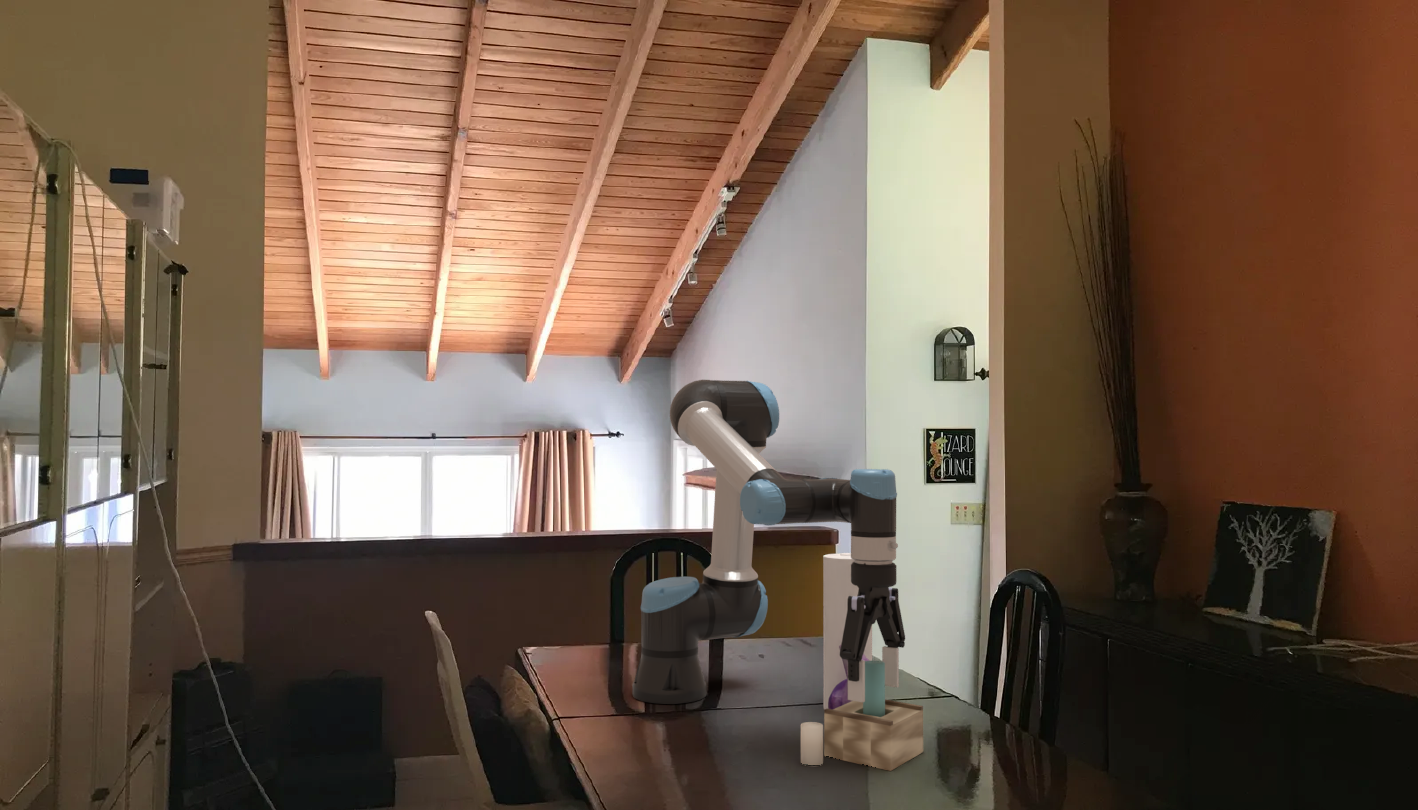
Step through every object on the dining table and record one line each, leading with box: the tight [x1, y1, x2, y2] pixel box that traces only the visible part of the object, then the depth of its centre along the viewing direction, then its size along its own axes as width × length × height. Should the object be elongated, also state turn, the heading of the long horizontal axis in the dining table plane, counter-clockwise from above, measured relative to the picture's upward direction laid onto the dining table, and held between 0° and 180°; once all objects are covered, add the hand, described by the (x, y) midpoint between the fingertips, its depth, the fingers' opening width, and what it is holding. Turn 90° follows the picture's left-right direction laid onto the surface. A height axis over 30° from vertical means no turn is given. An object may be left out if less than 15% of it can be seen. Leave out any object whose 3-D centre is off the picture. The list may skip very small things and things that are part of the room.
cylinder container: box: [822, 552, 873, 710], centre depth 191 cm, size 9×9×30 cm
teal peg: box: [863, 660, 886, 717], centre depth 163 cm, size 4×4×15 cm
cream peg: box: [800, 721, 824, 766], centre depth 159 cm, size 4×4×6 cm
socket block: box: [823, 698, 924, 772], centre depth 163 cm, size 12×12×8 cm
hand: (873, 693), depth 163 cm, fingers open, 11 cm apart
